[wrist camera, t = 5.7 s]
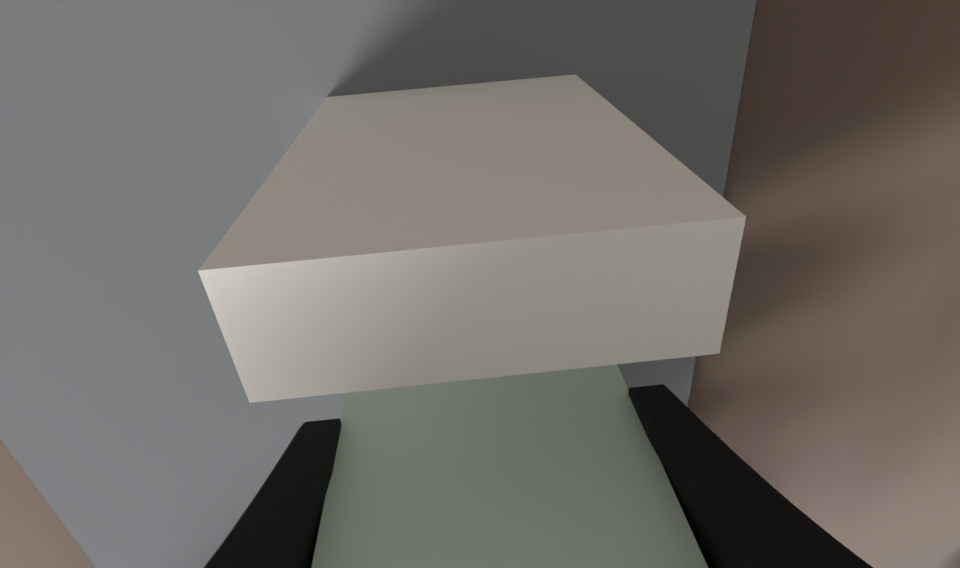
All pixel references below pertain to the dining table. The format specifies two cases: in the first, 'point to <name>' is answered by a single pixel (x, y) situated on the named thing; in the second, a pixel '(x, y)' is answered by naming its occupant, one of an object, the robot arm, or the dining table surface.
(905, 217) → the dining table surface
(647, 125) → the mat
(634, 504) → the domino
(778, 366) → the dining table surface
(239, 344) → the white flat block
